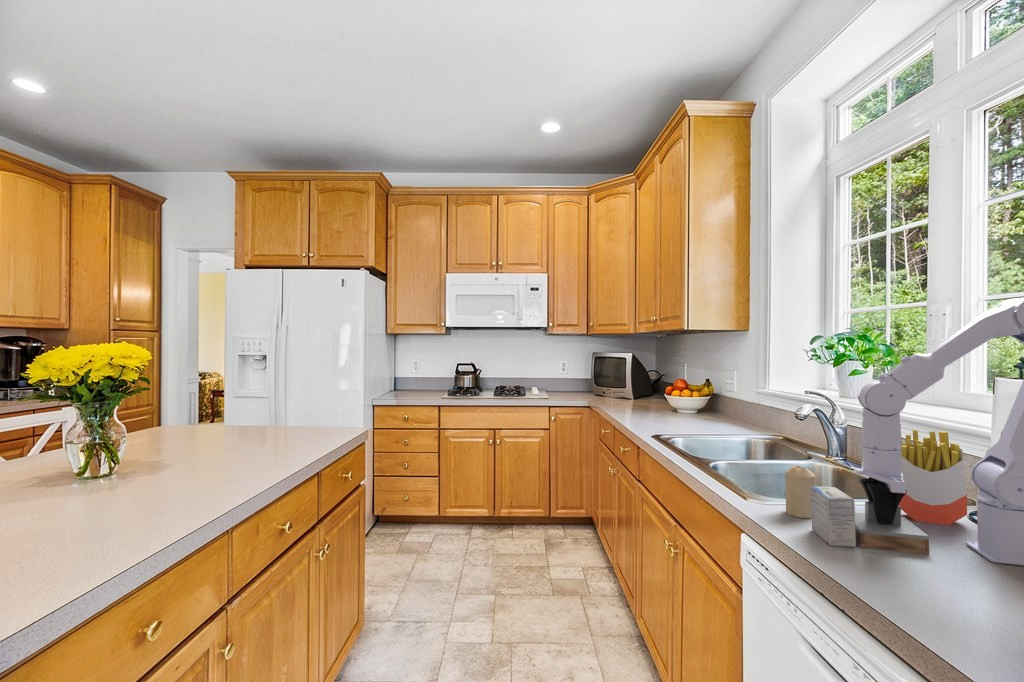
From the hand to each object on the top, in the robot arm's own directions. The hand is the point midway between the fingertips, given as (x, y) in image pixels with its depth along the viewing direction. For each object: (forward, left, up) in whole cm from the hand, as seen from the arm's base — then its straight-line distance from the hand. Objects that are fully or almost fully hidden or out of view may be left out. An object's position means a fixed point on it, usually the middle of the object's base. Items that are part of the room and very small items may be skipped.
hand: (882, 521), depth 90 cm
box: (0, 0, -3) cm, 3 cm away
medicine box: (+9, +2, -4) cm, 9 cm away
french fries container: (-13, -15, -4) cm, 20 cm away
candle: (+11, -11, -4) cm, 16 cm away
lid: (0, 0, -1) cm, 1 cm away
